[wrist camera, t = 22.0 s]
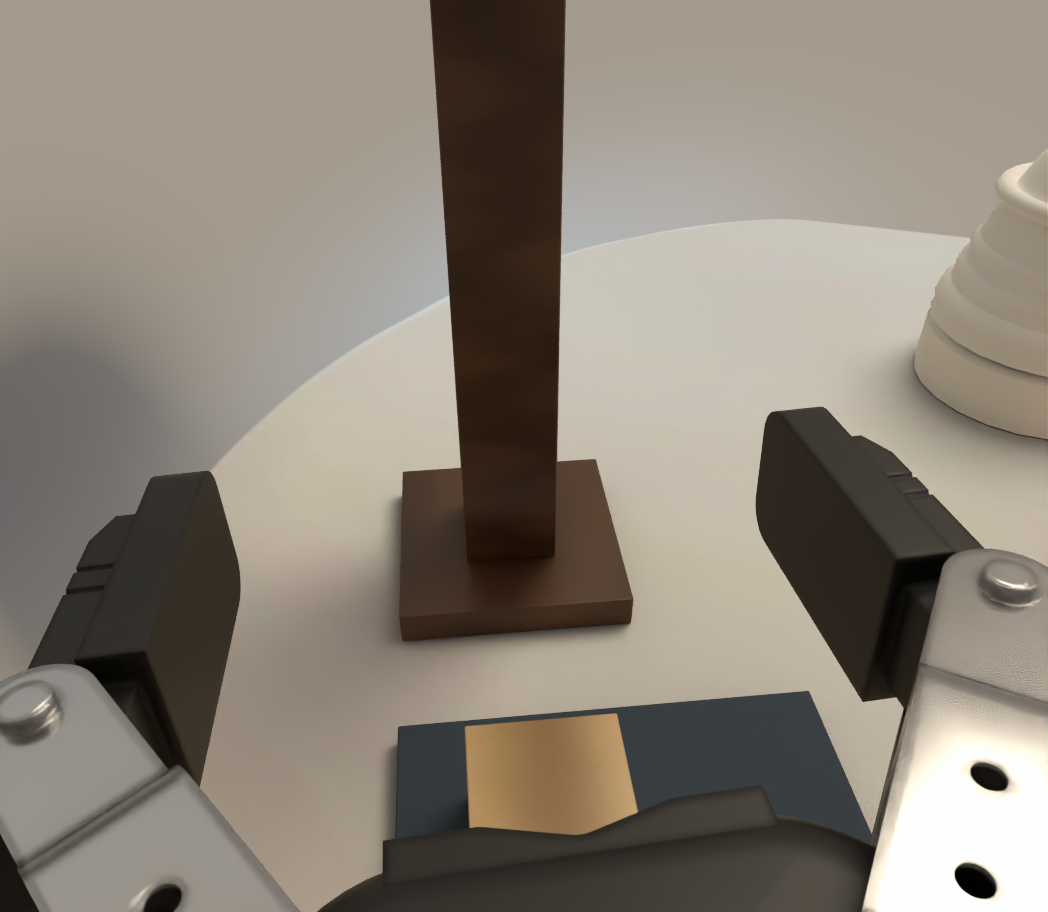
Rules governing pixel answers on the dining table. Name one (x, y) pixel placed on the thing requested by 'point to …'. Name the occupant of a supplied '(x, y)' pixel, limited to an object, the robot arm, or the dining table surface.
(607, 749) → the light wood mallet shape
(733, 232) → the dining table surface
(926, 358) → the honey pot
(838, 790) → the mat
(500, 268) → the brown pedestal stand
